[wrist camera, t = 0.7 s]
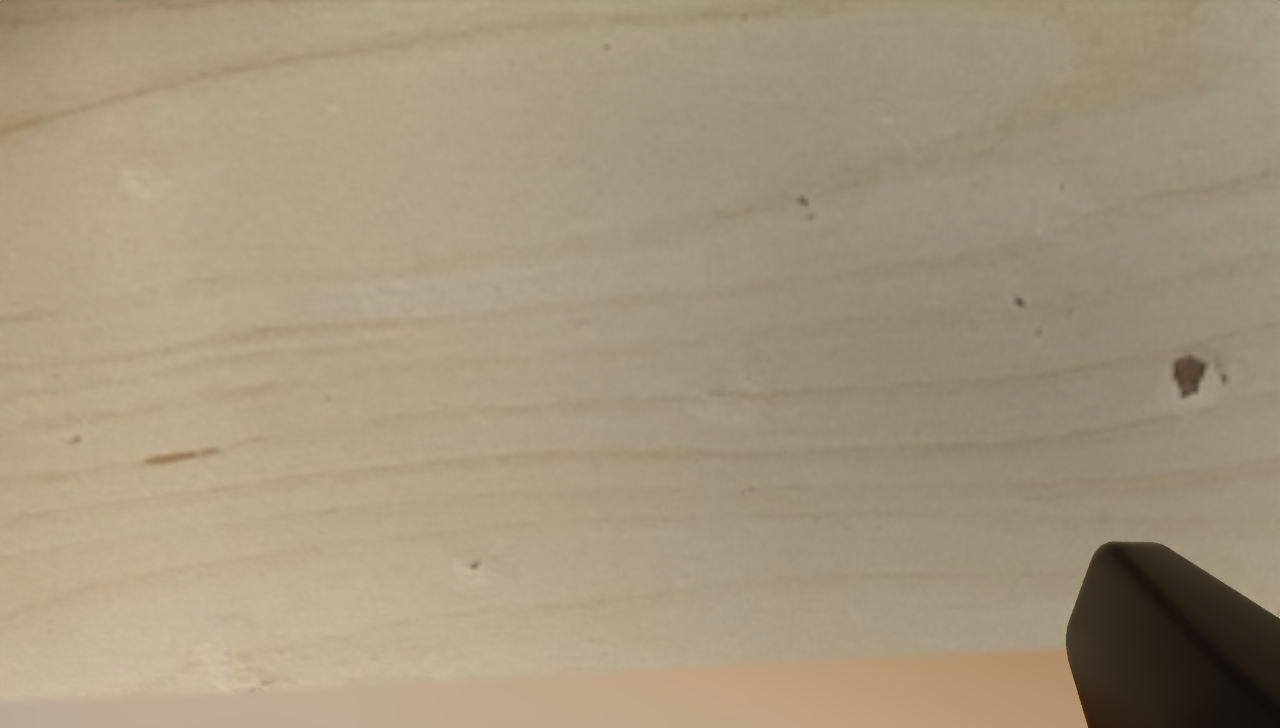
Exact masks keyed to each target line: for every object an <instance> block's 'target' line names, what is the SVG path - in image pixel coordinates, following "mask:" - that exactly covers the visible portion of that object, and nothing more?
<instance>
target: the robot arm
mask: <svg viewBox="0 0 1280 728" xmlns="http://www.w3.org/2000/svg"><path fill="white" fill-rule="evenodd" d="M1066 649H1067V656H1068V660H1069V664H1070V668H1071V671H1072V674H1073V678H1074V681H1075V684H1076V688H1077V691H1078V695H1079V698H1080V701H1081V705H1082V708H1083V711H1084V715H1085V718H1086V722H1087V725H1088V728H1280V618H1278V617H1276V616H1275V615H1273V614H1272V613H1270V612H1268V611H1267V610H1265V609H1264V608H1262V607H1261V606H1259V605H1257V604H1256V603H1254V602H1253V601H1251V600H1250V599H1248V598H1246V597H1245V596H1243V595H1242V594H1240V593H1239V592H1237V591H1235V590H1234V589H1232V588H1231V587H1229V586H1228V585H1226V584H1224V583H1223V582H1221V581H1220V580H1218V579H1217V578H1215V577H1213V576H1212V575H1210V574H1209V573H1207V572H1206V571H1204V570H1202V569H1201V568H1199V567H1198V566H1196V565H1195V564H1193V563H1191V562H1190V561H1188V560H1187V559H1185V558H1184V557H1182V556H1180V555H1179V554H1177V553H1176V552H1174V551H1173V550H1171V549H1169V548H1168V547H1166V546H1164V545H1162V544H1159V543H1154V542H1108V543H1106V544H1103V545H1101V546H1100V547H1099V548H1098V549H1097V550H1096V552H1095V553H1094V555H1093V557H1092V559H1091V562H1090V564H1089V567H1088V570H1087V573H1086V575H1085V578H1084V581H1083V584H1082V586H1081V589H1080V592H1079V595H1078V598H1077V600H1076V603H1075V606H1074V609H1073V611H1072V614H1071V617H1070V620H1069V623H1068V627H1067V633H1066Z"/></svg>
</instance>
